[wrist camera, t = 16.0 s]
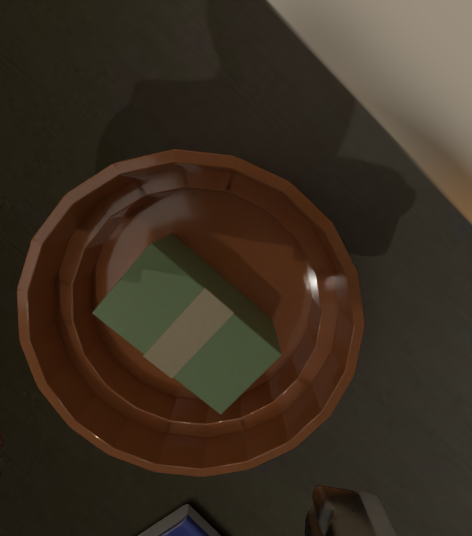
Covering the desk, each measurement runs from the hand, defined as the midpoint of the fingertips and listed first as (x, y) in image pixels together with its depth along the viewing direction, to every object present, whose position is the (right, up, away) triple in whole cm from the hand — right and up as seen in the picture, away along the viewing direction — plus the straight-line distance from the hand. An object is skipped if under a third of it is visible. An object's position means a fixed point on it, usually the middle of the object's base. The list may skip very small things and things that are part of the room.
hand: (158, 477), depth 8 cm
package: (-1, +3, +13) cm, 13 cm away
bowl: (0, +3, +14) cm, 14 cm away
